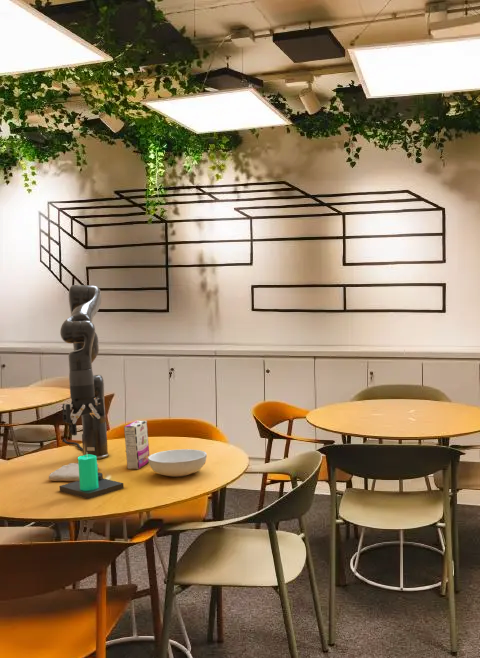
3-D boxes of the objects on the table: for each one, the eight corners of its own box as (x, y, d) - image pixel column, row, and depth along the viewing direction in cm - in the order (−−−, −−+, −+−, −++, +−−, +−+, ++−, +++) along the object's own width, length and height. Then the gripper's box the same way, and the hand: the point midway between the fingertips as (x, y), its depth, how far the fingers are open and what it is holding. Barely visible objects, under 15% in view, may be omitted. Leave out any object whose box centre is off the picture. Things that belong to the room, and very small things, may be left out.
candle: (81, 485, 224) (79, 450, 223) (100, 484, 225) (97, 449, 223) (78, 491, 219) (75, 454, 217) (97, 490, 219) (94, 453, 217)
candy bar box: (138, 461, 263) (135, 420, 261) (150, 462, 262) (147, 420, 260) (126, 469, 252) (123, 426, 250) (138, 469, 251) (136, 426, 249)
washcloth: (100, 469, 253) (99, 461, 253) (80, 482, 236) (79, 474, 235) (70, 469, 255) (69, 461, 254) (48, 482, 237) (47, 473, 237)
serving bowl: (216, 467, 249) (215, 449, 249) (191, 483, 230) (190, 463, 229) (166, 464, 256) (165, 447, 255) (137, 479, 237) (136, 460, 236)
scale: (58, 491, 226) (58, 481, 225) (94, 481, 237) (94, 471, 237) (88, 499, 216) (87, 488, 215) (124, 488, 227) (124, 478, 226)
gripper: (93, 379, 225) (96, 427, 227) (55, 385, 214) (59, 435, 216) (107, 381, 220) (110, 429, 222) (69, 386, 209) (73, 438, 211)
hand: (85, 432), depth 219 cm, fingers open, 8 cm apart
